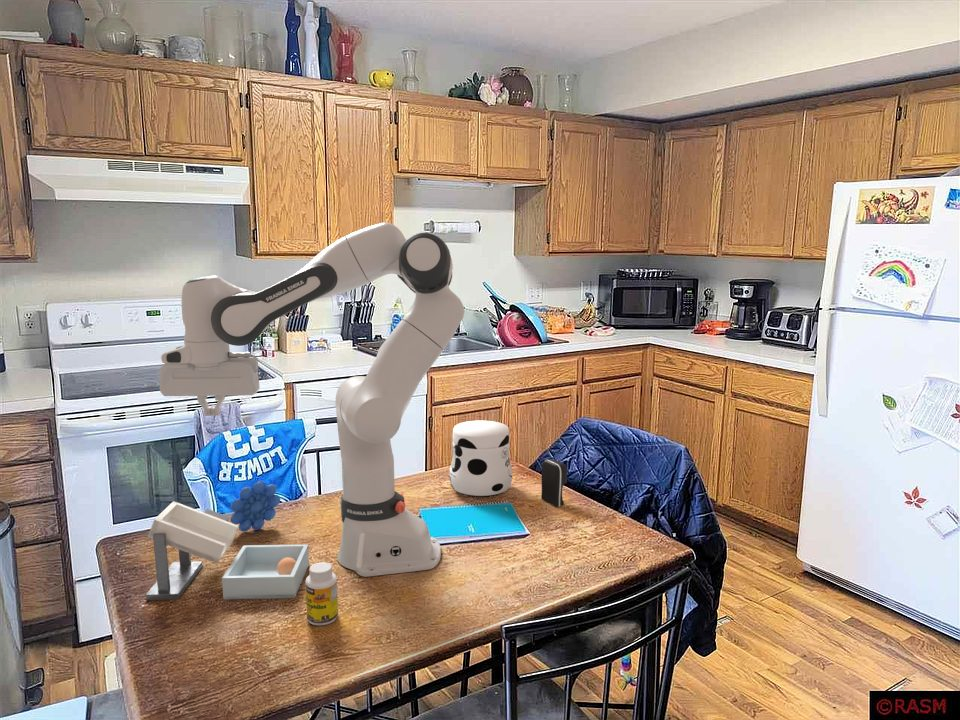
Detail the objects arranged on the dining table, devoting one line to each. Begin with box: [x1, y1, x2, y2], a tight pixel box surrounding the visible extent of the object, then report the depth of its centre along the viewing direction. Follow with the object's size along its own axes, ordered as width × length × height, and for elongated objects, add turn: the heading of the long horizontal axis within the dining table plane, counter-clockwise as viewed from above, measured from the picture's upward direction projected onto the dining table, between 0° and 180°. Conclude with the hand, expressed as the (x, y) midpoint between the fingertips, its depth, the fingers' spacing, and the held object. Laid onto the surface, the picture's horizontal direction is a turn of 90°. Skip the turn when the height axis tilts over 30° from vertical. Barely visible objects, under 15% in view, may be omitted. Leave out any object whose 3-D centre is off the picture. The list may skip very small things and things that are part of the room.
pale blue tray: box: [221, 544, 310, 600], centre depth 135 cm, size 14×14×4 cm
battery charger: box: [540, 458, 568, 508], centre depth 174 cm, size 7×4×11 cm, turn 34°
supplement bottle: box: [305, 561, 339, 626], centre depth 121 cm, size 6×6×10 cm
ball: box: [277, 558, 296, 575], centre depth 135 cm, size 4×4×4 cm
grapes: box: [229, 480, 281, 532], centre depth 158 cm, size 12×7×12 cm, turn 121°
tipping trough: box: [147, 500, 239, 564], centre depth 136 cm, size 14×16×4 cm
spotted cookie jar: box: [448, 419, 513, 499], centre depth 182 cm, size 17×17×18 cm
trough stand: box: [145, 533, 204, 601], centre depth 133 cm, size 6×13×13 cm, turn 3°
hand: (212, 415), depth 144 cm, fingers closed
